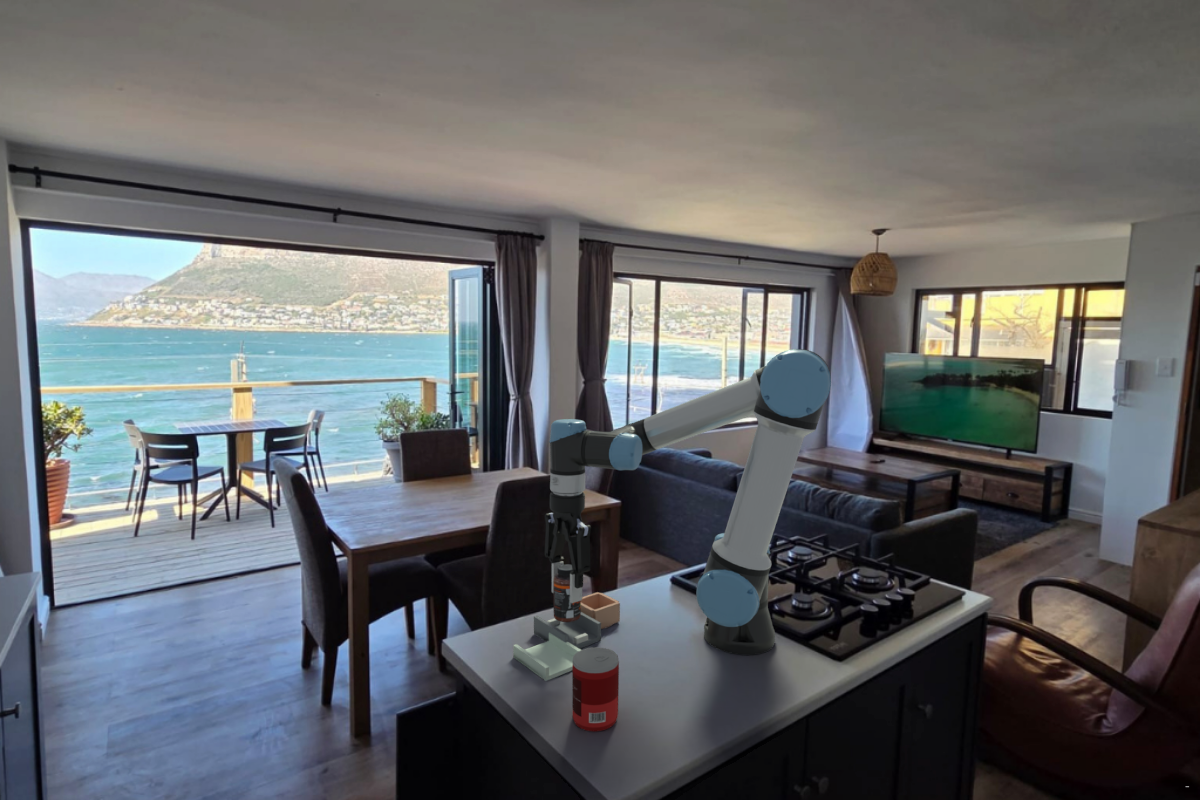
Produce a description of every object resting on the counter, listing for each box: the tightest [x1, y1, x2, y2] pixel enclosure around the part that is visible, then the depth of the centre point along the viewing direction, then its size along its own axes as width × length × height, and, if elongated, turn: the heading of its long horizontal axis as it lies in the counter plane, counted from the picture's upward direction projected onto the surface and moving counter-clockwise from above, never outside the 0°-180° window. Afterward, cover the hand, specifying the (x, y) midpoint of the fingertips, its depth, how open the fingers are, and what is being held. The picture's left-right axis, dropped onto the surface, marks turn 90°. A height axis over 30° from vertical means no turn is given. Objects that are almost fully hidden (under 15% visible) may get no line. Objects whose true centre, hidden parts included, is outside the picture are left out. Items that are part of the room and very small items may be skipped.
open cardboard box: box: [581, 591, 621, 630], centre depth 146 cm, size 8×8×5 cm
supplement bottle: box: [552, 564, 581, 622], centre depth 137 cm, size 6×6×11 cm
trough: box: [512, 633, 582, 682], centre depth 127 cm, size 12×10×3 cm
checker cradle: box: [533, 612, 602, 650], centre depth 138 cm, size 12×10×4 cm
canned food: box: [571, 647, 620, 732], centre depth 108 cm, size 8×8×11 cm
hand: (566, 595), depth 137 cm, fingers closed on supplement bottle, 6 cm apart
